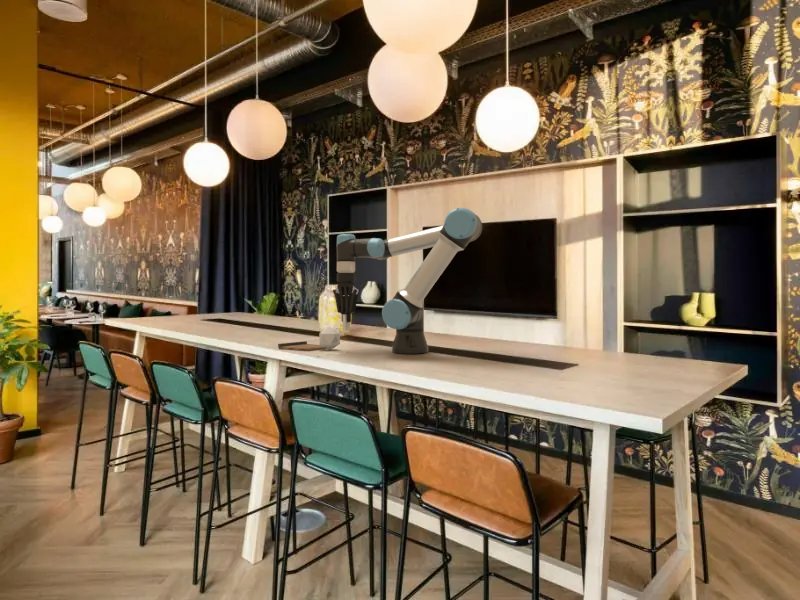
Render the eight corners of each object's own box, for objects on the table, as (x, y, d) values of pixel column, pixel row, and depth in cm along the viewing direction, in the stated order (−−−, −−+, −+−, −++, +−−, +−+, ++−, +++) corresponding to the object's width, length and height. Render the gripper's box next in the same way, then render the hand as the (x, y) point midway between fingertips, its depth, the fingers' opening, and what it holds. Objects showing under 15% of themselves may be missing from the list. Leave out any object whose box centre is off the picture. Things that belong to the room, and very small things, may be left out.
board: (334, 348, 236) (334, 343, 236) (307, 351, 223) (307, 345, 223) (305, 346, 246) (305, 341, 246) (278, 348, 234) (278, 343, 234)
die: (336, 351, 221) (336, 327, 221) (316, 351, 223) (315, 327, 223) (343, 349, 230) (342, 326, 230) (323, 349, 231) (322, 325, 231)
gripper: (364, 272, 220) (364, 330, 220) (340, 273, 227) (340, 329, 228) (351, 271, 214) (352, 331, 214) (328, 272, 221) (328, 330, 222)
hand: (346, 330), depth 221 cm, fingers closed
